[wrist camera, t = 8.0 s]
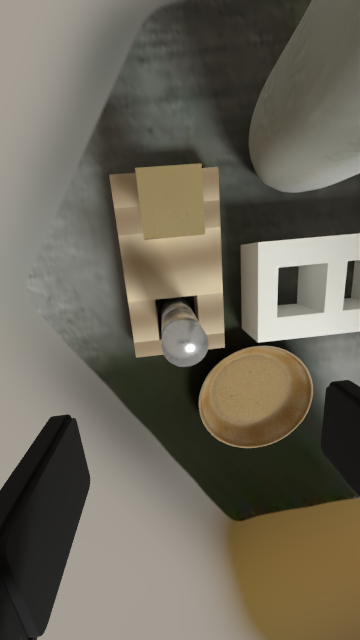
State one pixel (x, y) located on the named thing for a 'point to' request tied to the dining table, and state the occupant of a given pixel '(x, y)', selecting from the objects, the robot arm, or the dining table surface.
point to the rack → (300, 287)
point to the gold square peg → (171, 201)
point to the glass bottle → (312, 103)
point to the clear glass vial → (182, 334)
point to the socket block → (170, 265)
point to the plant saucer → (255, 396)
